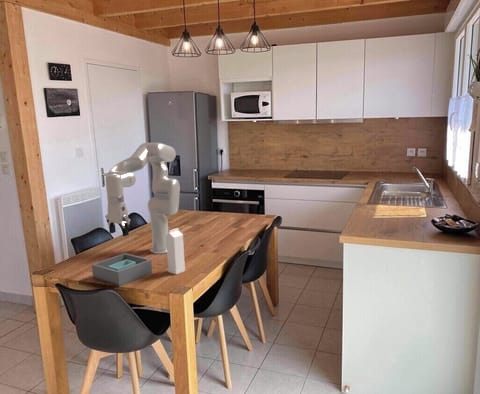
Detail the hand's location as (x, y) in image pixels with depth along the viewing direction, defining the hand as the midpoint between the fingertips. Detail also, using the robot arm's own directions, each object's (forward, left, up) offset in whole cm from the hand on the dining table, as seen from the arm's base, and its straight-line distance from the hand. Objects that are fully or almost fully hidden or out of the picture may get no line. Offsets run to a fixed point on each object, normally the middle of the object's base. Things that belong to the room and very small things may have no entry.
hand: (119, 234), depth 205 cm
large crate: (+1, +2, -21) cm, 21 cm away
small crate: (+1, +2, -20) cm, 20 cm away
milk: (-17, +21, -21) cm, 34 cm away
